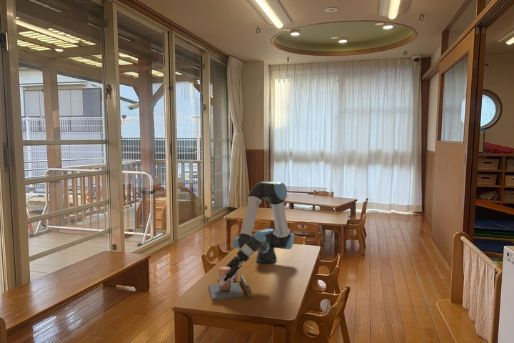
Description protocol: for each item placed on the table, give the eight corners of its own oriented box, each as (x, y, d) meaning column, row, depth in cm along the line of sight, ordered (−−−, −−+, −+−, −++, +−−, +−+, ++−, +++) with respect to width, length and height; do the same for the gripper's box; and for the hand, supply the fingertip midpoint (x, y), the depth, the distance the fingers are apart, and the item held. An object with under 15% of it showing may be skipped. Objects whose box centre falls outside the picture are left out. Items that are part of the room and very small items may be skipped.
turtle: (240, 283, 239) (241, 267, 241) (239, 283, 230) (239, 267, 232) (217, 282, 240) (218, 266, 243) (214, 282, 231) (215, 266, 234)
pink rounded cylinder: (218, 286, 221) (218, 267, 220) (230, 285, 223) (229, 266, 222) (220, 291, 215) (219, 271, 214) (232, 289, 216) (231, 270, 215)
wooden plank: (240, 281, 234) (240, 274, 234) (242, 280, 235) (242, 274, 234) (248, 297, 209) (248, 291, 209) (251, 297, 209) (251, 290, 209)
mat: (208, 286, 227) (208, 285, 227) (237, 283, 231) (237, 282, 231) (212, 299, 207) (212, 298, 207) (243, 296, 211) (243, 295, 211)
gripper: (253, 262, 211) (226, 292, 209) (246, 252, 230) (221, 279, 228) (244, 254, 209) (216, 284, 207) (237, 244, 229) (212, 272, 226)
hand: (219, 282), depth 218 cm, fingers closed on pink rounded cylinder, 7 cm apart
